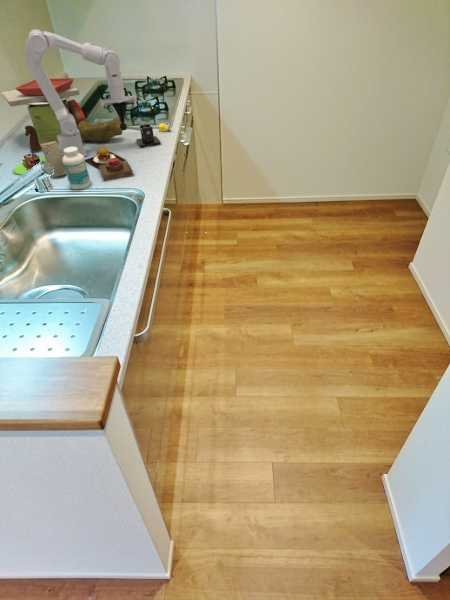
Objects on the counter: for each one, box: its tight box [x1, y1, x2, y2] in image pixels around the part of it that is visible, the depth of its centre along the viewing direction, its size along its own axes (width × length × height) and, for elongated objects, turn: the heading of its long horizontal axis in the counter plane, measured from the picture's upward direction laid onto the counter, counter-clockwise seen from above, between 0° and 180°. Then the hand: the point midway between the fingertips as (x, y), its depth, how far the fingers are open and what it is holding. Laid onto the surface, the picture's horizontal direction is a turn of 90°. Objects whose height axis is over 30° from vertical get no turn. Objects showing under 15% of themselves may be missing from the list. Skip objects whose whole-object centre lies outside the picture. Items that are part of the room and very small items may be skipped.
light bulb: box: [158, 122, 172, 132], centre depth 186 cm, size 3×6×4 cm
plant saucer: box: [14, 77, 75, 95], centre depth 169 cm, size 18×18×3 cm
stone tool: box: [77, 116, 124, 142], centre depth 177 cm, size 20×9×10 cm
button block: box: [98, 160, 134, 182], centre depth 152 cm, size 11×10×4 cm
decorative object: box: [67, 99, 86, 126], centre depth 184 cm, size 14×4×15 cm
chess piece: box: [24, 125, 42, 153], centre depth 170 cm, size 5×5×10 cm
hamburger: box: [85, 146, 126, 171], centre depth 161 cm, size 12×12×6 cm
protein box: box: [27, 99, 70, 145], centre depth 177 cm, size 10×15×16 cm
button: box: [109, 158, 119, 166], centre depth 151 cm, size 4×4×2 cm
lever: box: [120, 122, 146, 132], centre depth 170 cm, size 13×3×3 cm, turn 112°
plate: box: [24, 97, 70, 106], centre depth 173 cm, size 21×21×2 cm
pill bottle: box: [62, 147, 92, 190], centre depth 142 cm, size 8×7×14 cm
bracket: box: [135, 123, 162, 149], centre depth 174 cm, size 9×8×7 cm
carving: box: [40, 141, 66, 177], centre depth 150 cm, size 6×8×12 cm
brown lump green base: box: [13, 152, 46, 176], centre depth 157 cm, size 15×15×6 cm
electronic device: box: [0, 85, 81, 107], centre depth 173 cm, size 29×20×2 cm
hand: (122, 122), depth 167 cm, fingers closed
